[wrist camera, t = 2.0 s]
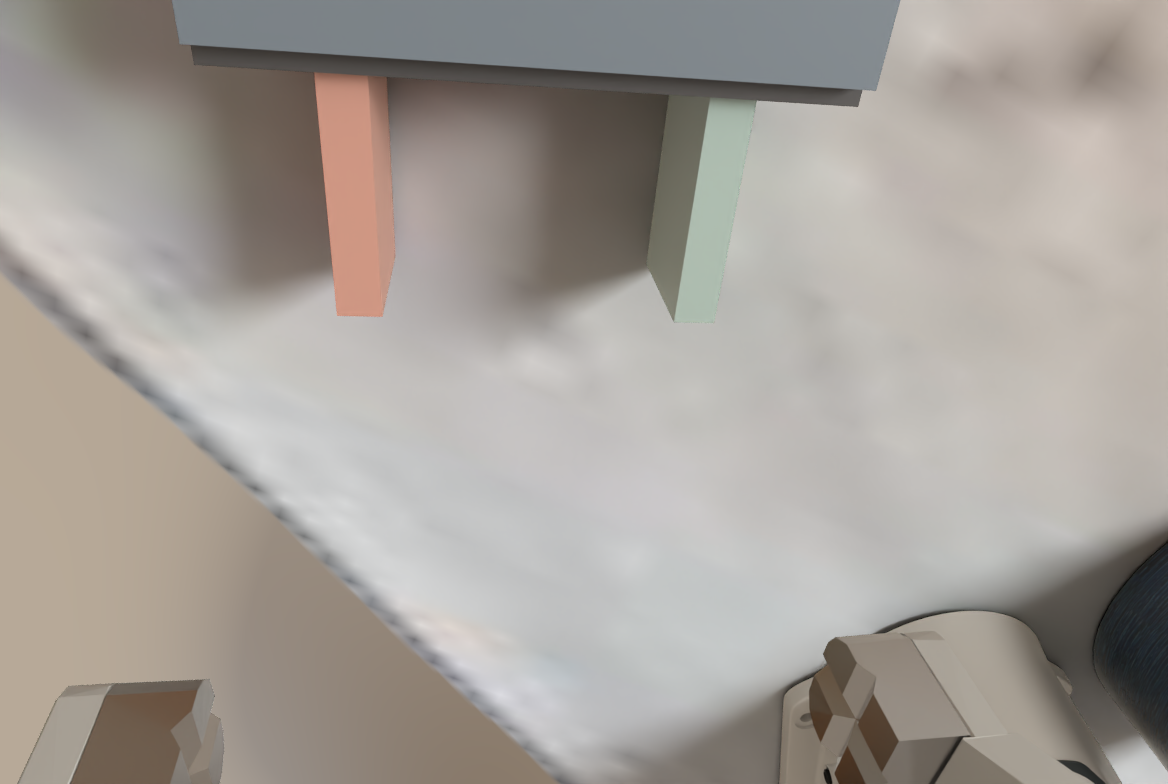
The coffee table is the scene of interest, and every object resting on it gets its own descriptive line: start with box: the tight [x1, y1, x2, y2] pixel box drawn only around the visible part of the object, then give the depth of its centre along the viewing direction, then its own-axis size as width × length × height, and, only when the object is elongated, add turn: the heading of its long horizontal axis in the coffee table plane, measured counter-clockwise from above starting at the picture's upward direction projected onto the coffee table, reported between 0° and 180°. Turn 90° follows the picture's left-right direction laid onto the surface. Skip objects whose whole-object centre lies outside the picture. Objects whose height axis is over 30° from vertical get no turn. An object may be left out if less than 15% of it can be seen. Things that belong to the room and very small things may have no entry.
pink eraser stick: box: [314, 72, 395, 317], centre depth 23 cm, size 14×1×5 cm, turn 175°
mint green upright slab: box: [646, 95, 757, 323], centre depth 25 cm, size 14×1×5 cm, turn 175°
